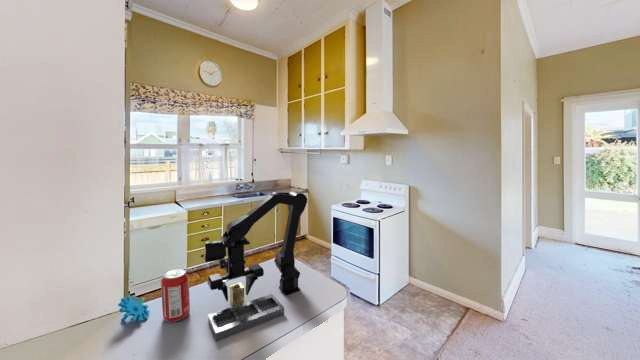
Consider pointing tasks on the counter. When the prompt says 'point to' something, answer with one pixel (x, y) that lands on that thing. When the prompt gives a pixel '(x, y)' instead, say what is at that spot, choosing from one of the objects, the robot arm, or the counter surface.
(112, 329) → the counter surface
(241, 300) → the brass block
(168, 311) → the soda can
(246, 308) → the tray
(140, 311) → the gear
